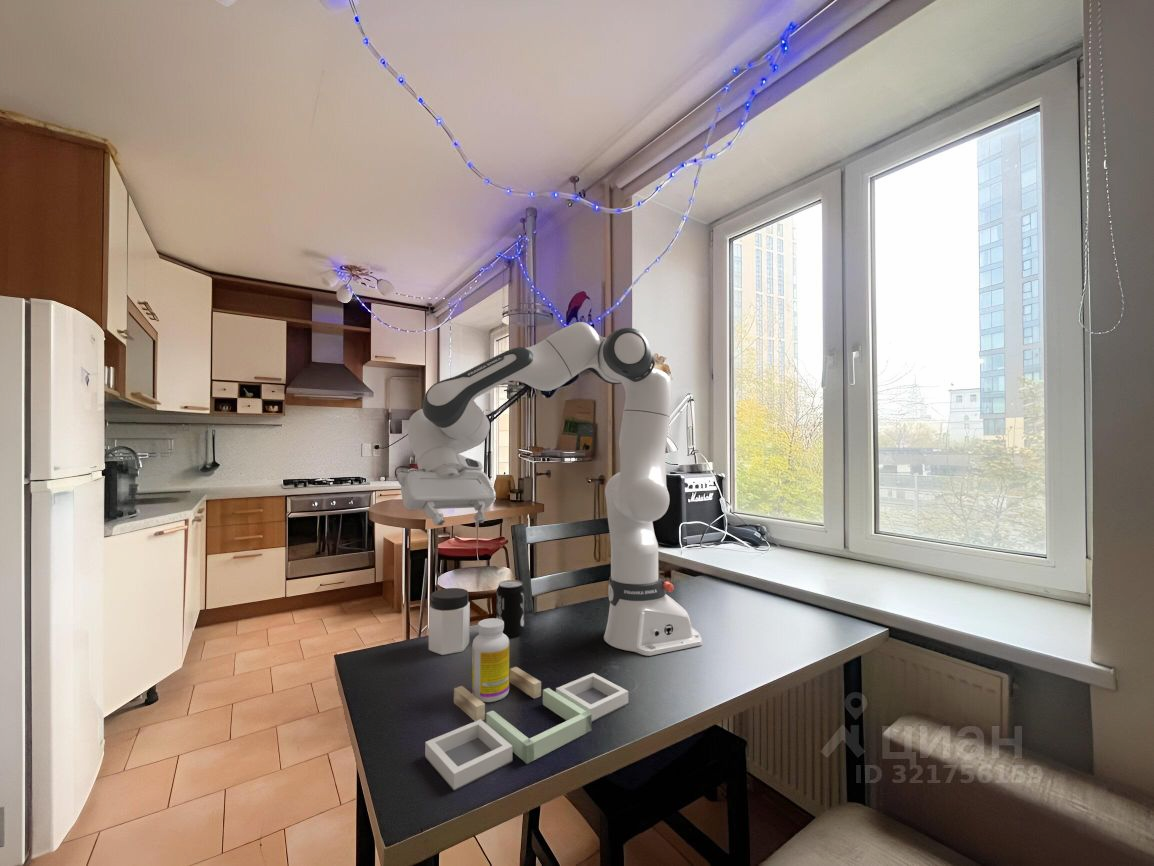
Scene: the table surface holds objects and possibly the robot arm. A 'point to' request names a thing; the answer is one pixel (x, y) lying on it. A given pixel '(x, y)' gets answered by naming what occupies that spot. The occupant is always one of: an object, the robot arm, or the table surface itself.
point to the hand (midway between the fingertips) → (461, 522)
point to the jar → (449, 621)
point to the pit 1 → (468, 753)
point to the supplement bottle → (490, 661)
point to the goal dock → (551, 738)
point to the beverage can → (511, 607)
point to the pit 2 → (594, 695)
